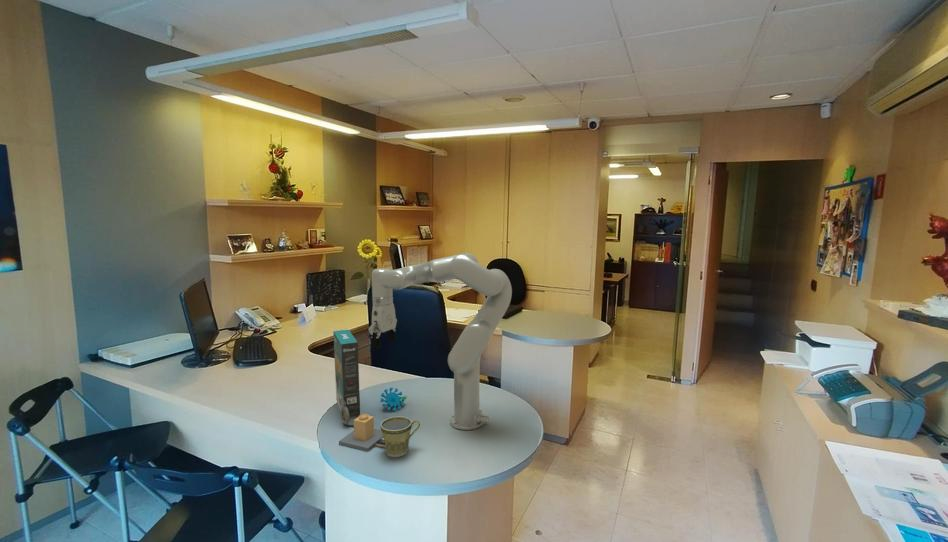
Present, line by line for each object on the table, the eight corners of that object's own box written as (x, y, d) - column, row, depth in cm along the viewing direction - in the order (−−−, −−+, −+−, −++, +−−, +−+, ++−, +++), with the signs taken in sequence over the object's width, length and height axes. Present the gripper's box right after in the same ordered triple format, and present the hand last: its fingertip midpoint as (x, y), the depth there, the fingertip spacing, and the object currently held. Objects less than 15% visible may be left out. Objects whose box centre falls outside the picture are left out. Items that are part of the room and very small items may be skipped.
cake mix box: (360, 417, 163) (357, 342, 159) (344, 420, 160) (341, 344, 157) (350, 397, 182) (348, 329, 179) (336, 399, 180) (333, 331, 176)
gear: (382, 411, 165) (379, 387, 171) (378, 417, 169) (375, 393, 174) (409, 408, 170) (405, 385, 176) (404, 414, 174) (401, 392, 180)
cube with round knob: (374, 434, 147) (373, 413, 146) (365, 440, 143) (365, 419, 142) (363, 431, 149) (362, 411, 148) (354, 438, 145) (353, 417, 144)
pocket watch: (367, 420, 160) (366, 395, 159) (354, 430, 152) (353, 404, 151) (349, 417, 163) (348, 392, 162) (335, 427, 155) (334, 401, 154)
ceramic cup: (384, 463, 131) (383, 433, 130) (378, 448, 140) (377, 419, 139) (424, 454, 137) (424, 424, 135) (416, 440, 146) (415, 412, 145)
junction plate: (398, 436, 148) (397, 421, 147) (378, 454, 137) (377, 437, 136) (361, 428, 154) (360, 413, 153) (338, 444, 143) (338, 428, 142)
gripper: (377, 305, 151) (379, 352, 152) (403, 297, 166) (404, 340, 168) (360, 304, 153) (362, 349, 155) (387, 296, 169) (388, 338, 171)
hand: (384, 344), depth 162 cm, fingers open, 9 cm apart
